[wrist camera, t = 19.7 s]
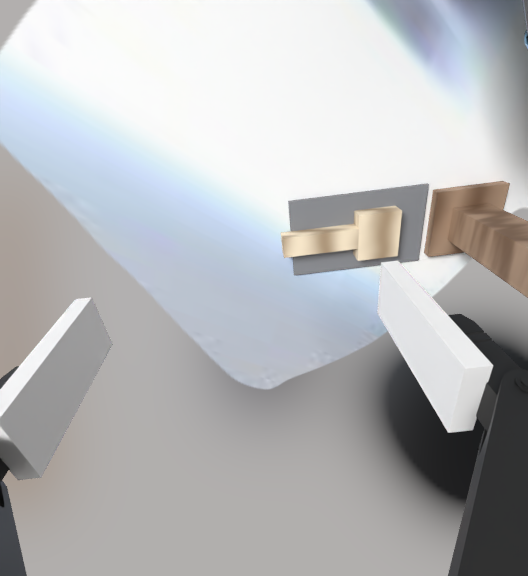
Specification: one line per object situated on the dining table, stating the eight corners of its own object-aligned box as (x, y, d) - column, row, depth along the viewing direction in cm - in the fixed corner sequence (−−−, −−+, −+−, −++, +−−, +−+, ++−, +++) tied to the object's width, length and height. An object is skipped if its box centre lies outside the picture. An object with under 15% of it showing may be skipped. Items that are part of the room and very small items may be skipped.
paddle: (283, 262, 52) (285, 269, 50) (279, 219, 49) (281, 225, 47) (391, 249, 52) (397, 256, 50) (395, 205, 49) (402, 210, 46)
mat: (294, 274, 54) (294, 275, 54) (288, 201, 48) (288, 201, 48) (417, 259, 54) (418, 260, 53) (427, 183, 48) (428, 184, 47)
